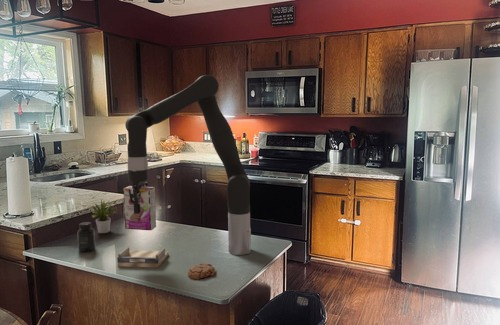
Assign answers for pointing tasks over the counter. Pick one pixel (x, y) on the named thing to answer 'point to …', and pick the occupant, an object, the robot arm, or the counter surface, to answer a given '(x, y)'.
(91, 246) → the supplement bottle
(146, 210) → the candy bar box
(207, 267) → the cookie
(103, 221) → the house plant
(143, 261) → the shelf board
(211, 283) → the counter surface
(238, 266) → the counter surface
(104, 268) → the counter surface
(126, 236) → the counter surface
